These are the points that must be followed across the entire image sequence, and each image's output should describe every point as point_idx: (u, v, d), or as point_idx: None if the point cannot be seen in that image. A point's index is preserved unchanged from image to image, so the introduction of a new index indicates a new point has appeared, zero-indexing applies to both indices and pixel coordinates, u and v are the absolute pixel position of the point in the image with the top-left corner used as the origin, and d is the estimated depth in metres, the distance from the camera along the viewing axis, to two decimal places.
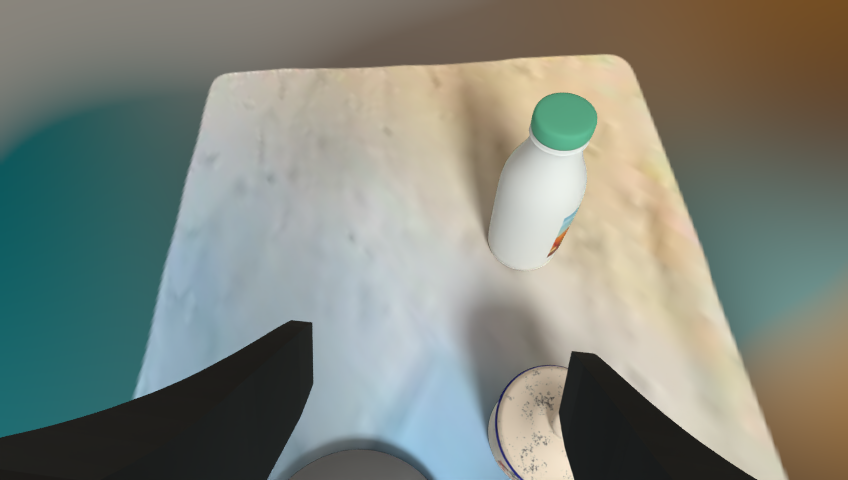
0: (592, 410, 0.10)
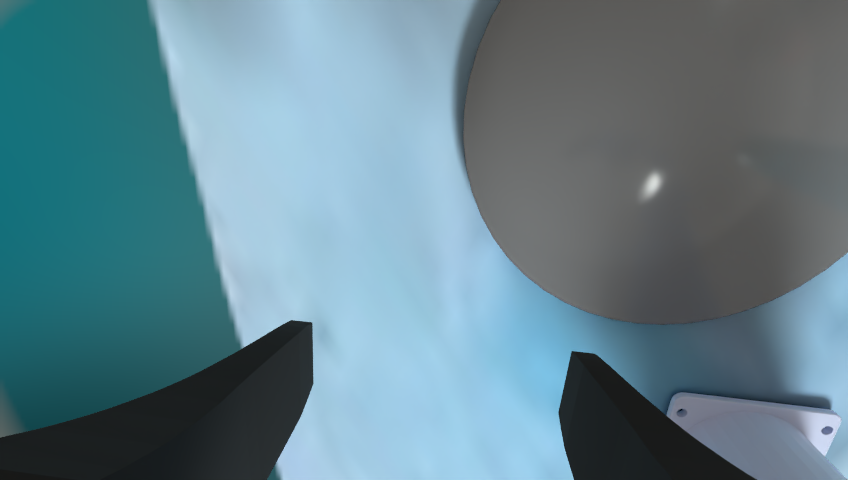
0: (592, 410, 0.10)
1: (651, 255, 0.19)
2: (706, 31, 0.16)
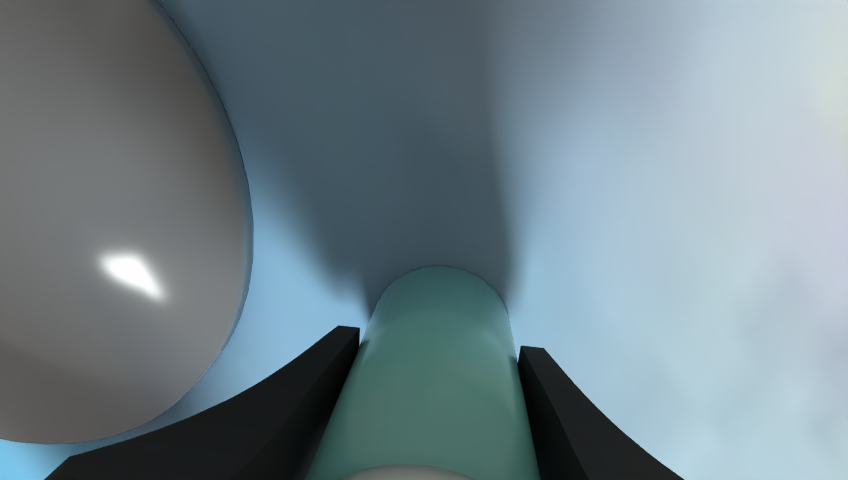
0: (532, 402, 0.10)
1: None
2: None
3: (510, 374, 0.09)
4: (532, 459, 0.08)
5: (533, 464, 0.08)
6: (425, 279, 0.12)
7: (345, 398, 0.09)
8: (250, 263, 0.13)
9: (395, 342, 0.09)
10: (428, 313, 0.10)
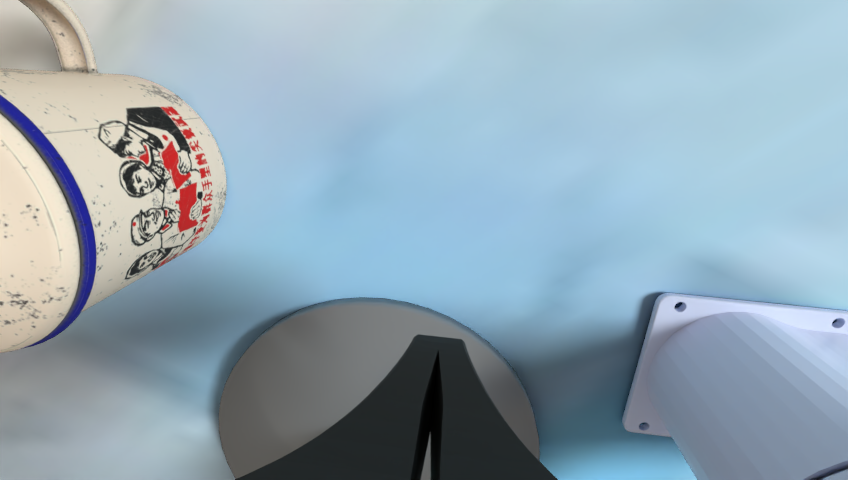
0: (437, 391, 0.10)
1: None
2: None
3: None
4: None
5: None
6: None
7: None
8: (409, 304, 0.22)
9: None
10: None
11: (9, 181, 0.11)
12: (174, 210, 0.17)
